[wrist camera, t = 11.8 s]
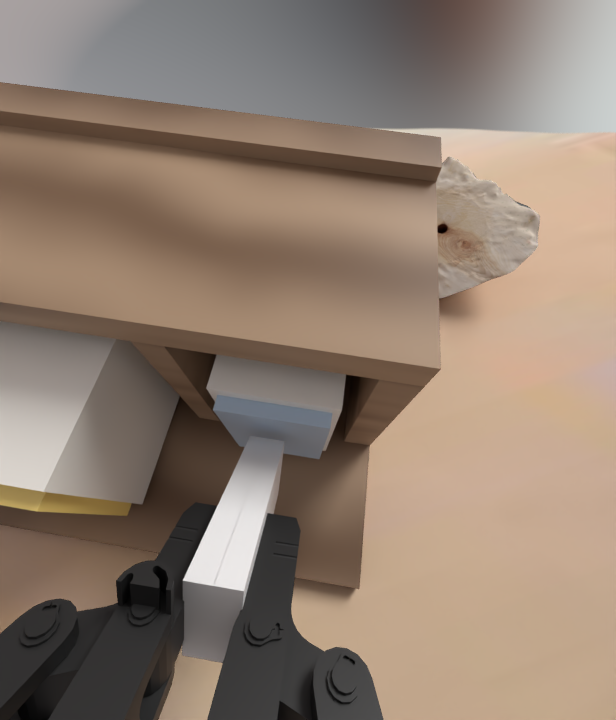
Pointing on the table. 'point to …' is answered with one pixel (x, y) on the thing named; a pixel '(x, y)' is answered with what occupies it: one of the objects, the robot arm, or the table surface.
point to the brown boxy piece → (226, 283)
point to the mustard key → (78, 421)
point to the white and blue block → (277, 403)
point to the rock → (478, 230)
